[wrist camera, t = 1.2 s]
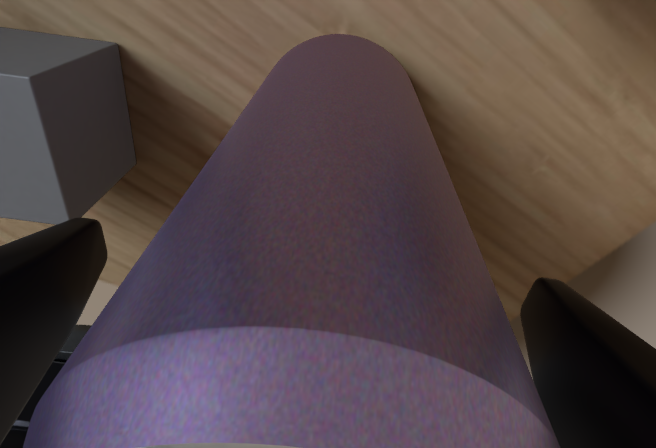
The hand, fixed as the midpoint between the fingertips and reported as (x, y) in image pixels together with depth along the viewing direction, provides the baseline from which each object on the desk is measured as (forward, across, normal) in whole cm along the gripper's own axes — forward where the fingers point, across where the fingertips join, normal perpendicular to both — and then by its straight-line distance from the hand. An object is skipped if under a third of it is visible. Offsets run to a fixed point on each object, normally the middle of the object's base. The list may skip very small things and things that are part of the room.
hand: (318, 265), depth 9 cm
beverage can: (+10, 0, 0) cm, 10 cm away
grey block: (+10, +11, +1) cm, 14 cm away
